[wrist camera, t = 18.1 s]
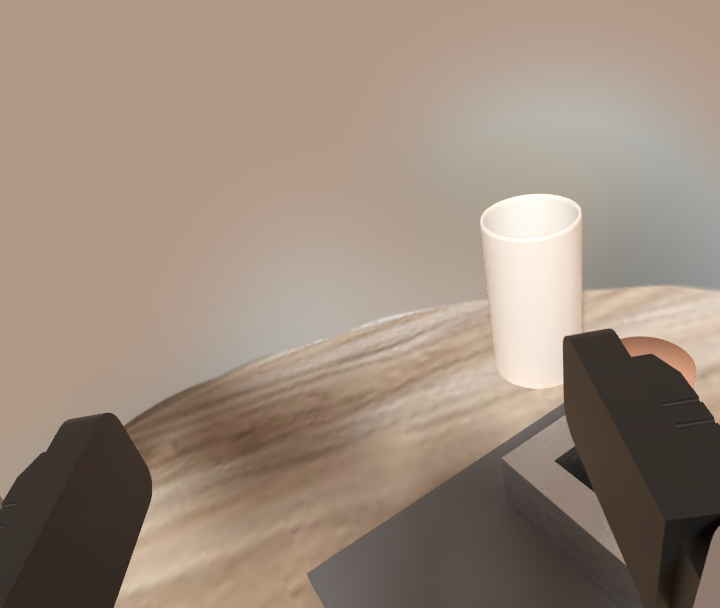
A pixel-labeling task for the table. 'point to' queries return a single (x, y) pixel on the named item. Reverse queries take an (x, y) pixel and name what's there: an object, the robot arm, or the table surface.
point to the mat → (458, 551)
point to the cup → (533, 284)
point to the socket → (567, 510)
